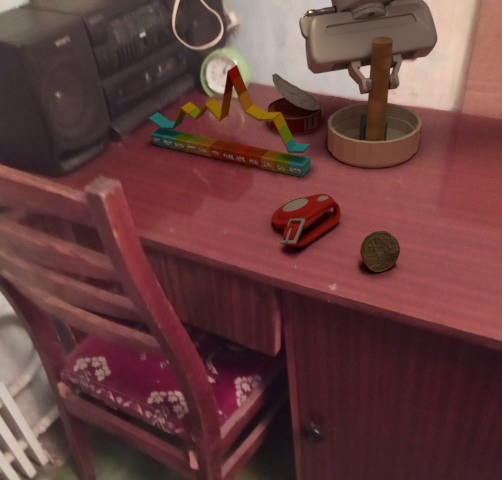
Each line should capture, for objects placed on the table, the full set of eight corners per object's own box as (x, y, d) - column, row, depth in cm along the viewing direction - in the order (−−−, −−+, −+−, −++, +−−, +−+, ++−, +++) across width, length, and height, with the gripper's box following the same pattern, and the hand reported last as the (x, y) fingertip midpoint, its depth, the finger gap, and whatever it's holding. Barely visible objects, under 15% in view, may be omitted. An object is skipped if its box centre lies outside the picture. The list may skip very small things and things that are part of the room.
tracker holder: (261, 206, 86) (323, 179, 86) (271, 232, 89) (332, 206, 88) (278, 234, 76) (349, 204, 76) (289, 263, 78) (358, 233, 78)
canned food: (286, 135, 115) (295, 80, 112) (327, 142, 110) (339, 85, 106) (248, 127, 107) (258, 69, 104) (291, 135, 101) (303, 73, 98)
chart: (151, 144, 106) (134, 58, 96) (162, 137, 108) (146, 52, 98) (301, 178, 94) (300, 83, 84) (310, 169, 96) (310, 75, 85)
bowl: (410, 125, 105) (413, 100, 101) (425, 166, 94) (429, 140, 91) (325, 129, 106) (325, 104, 103) (330, 171, 95) (330, 144, 92)
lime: (401, 262, 76) (406, 230, 73) (382, 281, 74) (385, 249, 70) (372, 250, 79) (375, 219, 75) (352, 268, 76) (354, 236, 73)
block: (382, 136, 101) (384, 113, 98) (385, 146, 98) (387, 123, 95) (359, 137, 101) (360, 114, 99) (361, 147, 99) (363, 124, 96)
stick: (379, 138, 98) (388, 35, 87) (386, 146, 95) (396, 41, 84) (362, 141, 97) (369, 38, 86) (368, 149, 95) (376, 44, 84)
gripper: (300, -1, 86) (320, 91, 85) (431, -19, 88) (450, 70, 88) (292, 23, 92) (311, 109, 92) (414, 6, 94) (432, 89, 94)
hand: (380, 90), depth 90 cm, fingers closed on stick, 3 cm apart
